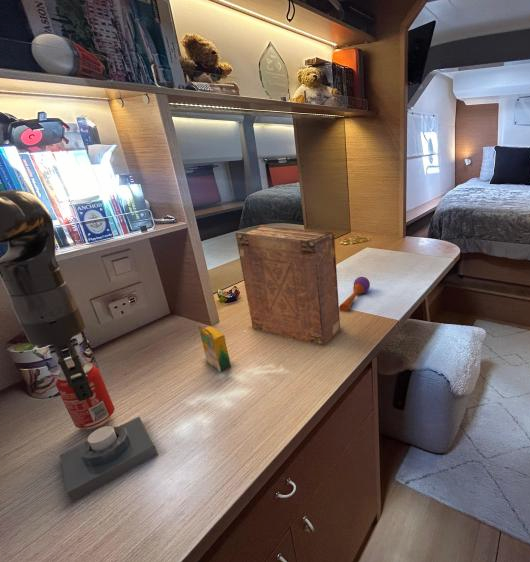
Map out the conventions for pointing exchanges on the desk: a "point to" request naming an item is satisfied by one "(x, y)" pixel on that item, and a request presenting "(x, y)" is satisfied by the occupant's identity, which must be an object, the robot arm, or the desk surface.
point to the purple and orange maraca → (356, 292)
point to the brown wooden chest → (291, 282)
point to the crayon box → (215, 348)
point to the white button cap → (102, 438)
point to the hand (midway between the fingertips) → (83, 389)
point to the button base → (106, 459)
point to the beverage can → (87, 400)
